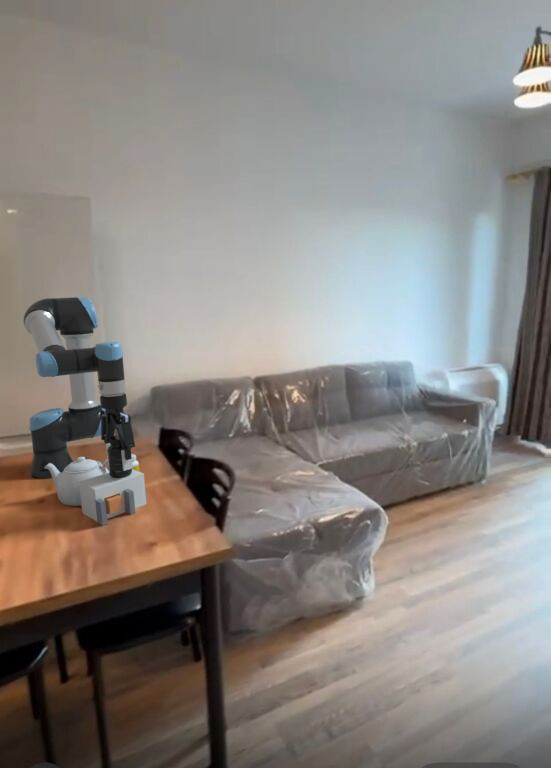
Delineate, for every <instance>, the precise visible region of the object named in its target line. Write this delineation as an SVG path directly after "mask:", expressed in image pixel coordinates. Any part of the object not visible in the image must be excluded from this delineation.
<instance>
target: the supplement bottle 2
mask: <svg viewBox="0 0 551 768" xmlns="http://www.w3.org/2000/svg"><path fill="white" fill-rule="evenodd" d="M131 458H132V469H133V470H136V471H138V472H140V463H139V461H138V460H137V455H136V454H134V453H131Z"/></svg>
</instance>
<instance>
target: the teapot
mask: <svg viewBox="0 0 551 768" xmlns="http://www.w3.org/2000/svg"><path fill="white" fill-rule="evenodd" d="M107 464H108V460H107V458H106V459H105V460H104V461H103V462H100V461H98V460H94V459H88V458H87V459H86V457H85V456H79V457H77V458H76V460H75V461H74V460H73V462H72V463H70V464H69V465H68V466H67V467H65V469H64V471H63V472H62V473H61V472H59V471H58V469H57V468H56V467H55V466H54V465H53V464H51V463H49V464H48V465H46V466H45V467H44V468H45V469H48V470H49V471H50V473H51V475H52V477H51V478H52V481H53V484H54V486H55V488H56V494H57V498H58V500H59V501H60V503H62V504H63V505H66V506H69V507H70V506H72V507H79V506H80V507H82V505H81V496H80V487H79V482H80V481H83V480H86V479H89V478H93V477H96V476H99V475H102V474H106V473H109V469H108V468H107V467H106V466H107Z"/></svg>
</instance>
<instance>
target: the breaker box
mask: <svg viewBox="0 0 551 768" xmlns="http://www.w3.org/2000/svg"><path fill="white" fill-rule="evenodd" d="M79 487H80V496H81V505H82V506H81V512H82V514H84V516H87V517H89V518H90V519H91V520H93V521H95V522H97V524H99V525H101V526H102V527H104V526H106V525H108V520H109V519H110V518H111V519H112V518H114V517H116V516H119V515H122V514H124V513H126V514H128V515H130V516H131V515H134V514H136V509H138V508H140V507H142V506H143V507H144V506H145V505H147V495H146V492H147V491H146V483H145V473H143V472H141V471H139V472H138V471H136V470H133V469H132V473H131V474H130V475H129V476H127V477H123V478H113V477H111V476H110V475H109V473H106V474H102V475H99V476H96V477H93V478H89V479H86V480H83V481H80V482H79ZM116 494H117V495H119V496H121V497H122V506H123V510H120V511H117V512H115V513H112V514H109V513H108V512H106V504H105V501H104V498H107V497H110V496H113V495H116Z"/></svg>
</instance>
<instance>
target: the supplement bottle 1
mask: <svg viewBox="0 0 551 768" xmlns="http://www.w3.org/2000/svg"><path fill="white" fill-rule="evenodd" d="M121 449H122V445H121V441H120V438H119V435H118V434H116V435H114V436H112V437H110V446H109V447H108V449H107V450H106V455H107V454H108V462H107V464H108V465H107V466H108V471H109V475H110V476H111V477H113V478H123V477H127V476H129V475H130V474H131V473H132V469H129V470H126V471H124V470H123V464H122V454H121Z"/></svg>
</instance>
